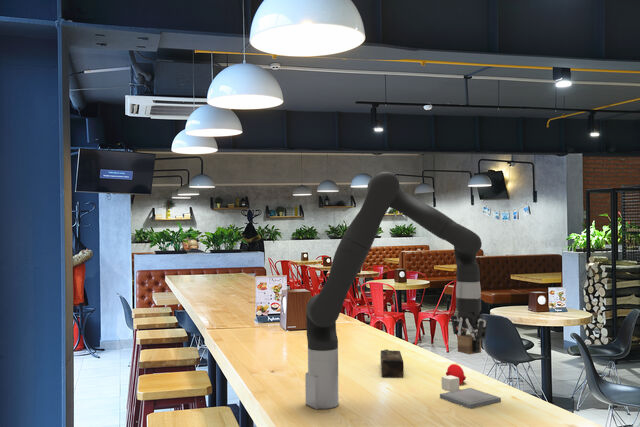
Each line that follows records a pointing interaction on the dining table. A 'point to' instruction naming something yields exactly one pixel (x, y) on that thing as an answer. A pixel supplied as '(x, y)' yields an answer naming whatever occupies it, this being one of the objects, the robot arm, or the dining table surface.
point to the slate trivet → (470, 397)
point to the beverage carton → (391, 364)
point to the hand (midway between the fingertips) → (469, 350)
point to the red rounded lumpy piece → (456, 372)
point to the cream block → (450, 383)
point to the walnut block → (466, 344)
